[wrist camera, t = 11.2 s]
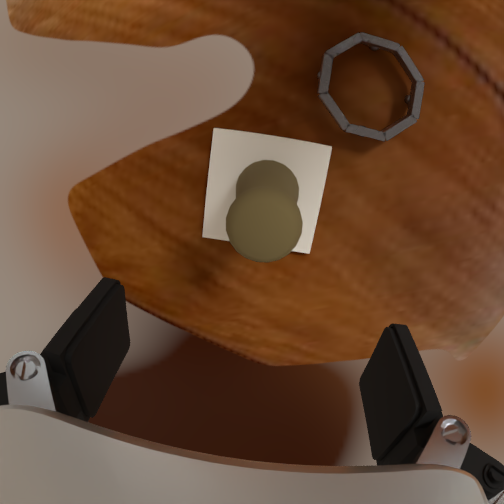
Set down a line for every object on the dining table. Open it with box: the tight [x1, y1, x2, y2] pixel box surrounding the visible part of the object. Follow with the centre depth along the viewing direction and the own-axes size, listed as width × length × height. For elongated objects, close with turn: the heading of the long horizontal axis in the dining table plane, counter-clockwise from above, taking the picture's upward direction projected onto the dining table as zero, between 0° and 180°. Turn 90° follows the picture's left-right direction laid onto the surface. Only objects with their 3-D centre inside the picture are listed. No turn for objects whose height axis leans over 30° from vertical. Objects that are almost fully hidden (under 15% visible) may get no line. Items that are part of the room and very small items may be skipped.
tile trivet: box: [202, 128, 332, 254], centre depth 31 cm, size 11×11×1 cm
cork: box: [226, 160, 303, 262], centre depth 25 cm, size 6×6×11 cm
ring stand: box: [317, 32, 424, 141], centre depth 25 cm, size 10×10×2 cm
